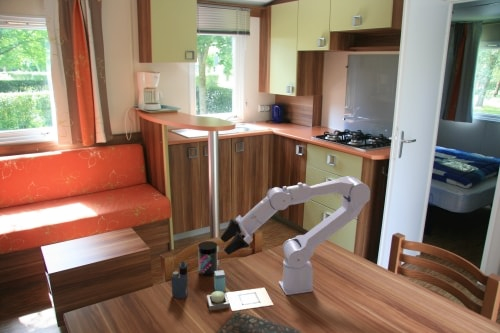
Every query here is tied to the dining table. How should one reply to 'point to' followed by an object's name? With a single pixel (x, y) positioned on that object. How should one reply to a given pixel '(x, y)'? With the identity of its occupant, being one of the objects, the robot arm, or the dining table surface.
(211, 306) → the button housing
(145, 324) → the dining table surface
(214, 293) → the button
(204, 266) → the supplement container
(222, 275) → the teal block
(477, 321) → the dining table surface
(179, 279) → the vaping device
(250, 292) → the paper
